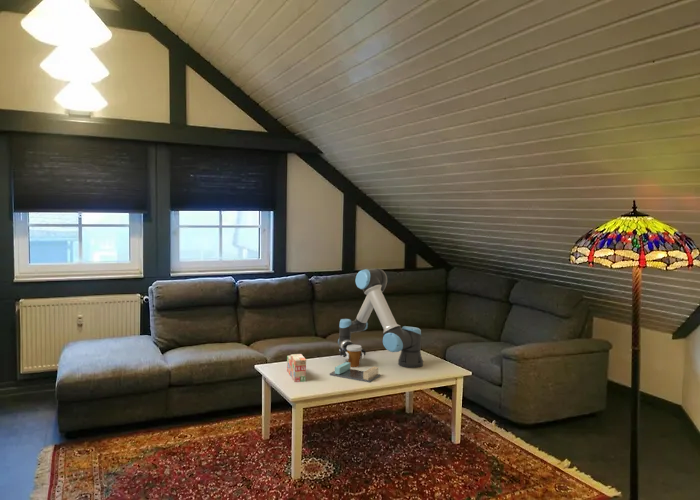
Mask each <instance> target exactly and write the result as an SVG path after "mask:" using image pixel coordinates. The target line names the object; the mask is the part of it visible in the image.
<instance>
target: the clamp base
mask: <svg viewBox="0 0 700 500" xmlns="http://www.w3.org/2000/svg"><path fill="white" fill-rule="evenodd" d="M329 376H333V377H337V378H343V379H349V380H355V381H359V382H363V383H364V382H366V383H372V382H373V381H374V380H376V379H378V378H380V377H381V374H380V373H379V367H378V366H372V367H370V368H368V369H366V370H364V371H362V370H359V369H352V368H350V369H349V370H347V371H345V372H343V373H341V374H335V370H334V371H332V372H330V373H329Z"/></svg>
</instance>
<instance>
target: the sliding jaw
mask: <svg viewBox="0 0 700 500" xmlns="http://www.w3.org/2000/svg"><path fill="white" fill-rule="evenodd" d="M349 369H351V367H350V363H349V362H348V361H345V362H343V363H341V364H339V365H336V366H335V367H334V371H335V374H341V373H343V372H345V371H347V370H349Z"/></svg>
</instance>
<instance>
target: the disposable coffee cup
mask: <svg viewBox="0 0 700 500" xmlns="http://www.w3.org/2000/svg"><path fill="white" fill-rule="evenodd" d="M346 349H347V353H348V354H349V359H347V362H349V363H350V368H359V366H360V362H361V350H362V349H363V348H362V345H361V344H354V345H348V346H347V348H346Z"/></svg>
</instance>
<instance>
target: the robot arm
mask: <svg viewBox="0 0 700 500" xmlns="http://www.w3.org/2000/svg"><path fill="white" fill-rule="evenodd" d="M387 283H388V276H387V274H386V272H385V271H384V270H383V269H381V268H369V269H362V270H359V271H358V273H356V276H355V285H356V287H357V288H358V289H360V290H362V291H363V294H364V295H366V296H365V299H364V300H363V303H362V305H361V307H360V308H359V311H358V313H357V315H356V318H355V319H354V320H352V319H350V318H340V321H339V326H338V328H339V331H338V332H339V337H338V340H337V344H338V346H339V349H338V350H339V351H338V352H339V354H340V357H341V356H343V358H346V359H347V360H348V359H349V354H348V353H347V349H346V348H347V346H348V345H355V344H354V343H353V342H352V341H351V339H352V333H359V332H363V331H366V330H367V329H368V327H369V326H368V325H369V323H368V320H369V318H370V316H371V313H372V312H373V310H374V311H375V313H376V316H377V318H378V320H379V322H380V325H381V326H382V329H383V331H382V332H383V333H382V335H383V337H382V344H383V347H384V348H385V349H386V350H387V351H388V352H390V353H399V352H400V354H399V357H398V361H397V364H398V365H399V366H400V367H405V368H420V367H423V365H424V360H423V357H422V353H421V351H422V349H421V347H422V343H421V342H422V330H421V329H420V328H419V327H415V326H406V325H404V326H401V325H400V324H398V323H397V321H396V319H395V317H394V315H393V313H392V311H391V309H390V306H389V304H388V302H387V300H386V298H385V295H384V294H383V292H384V291H385V289H386V287H387ZM365 356H366V350H365V349H363V348H362V350H361V356H360V358H361V359H364V357H365Z"/></svg>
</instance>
